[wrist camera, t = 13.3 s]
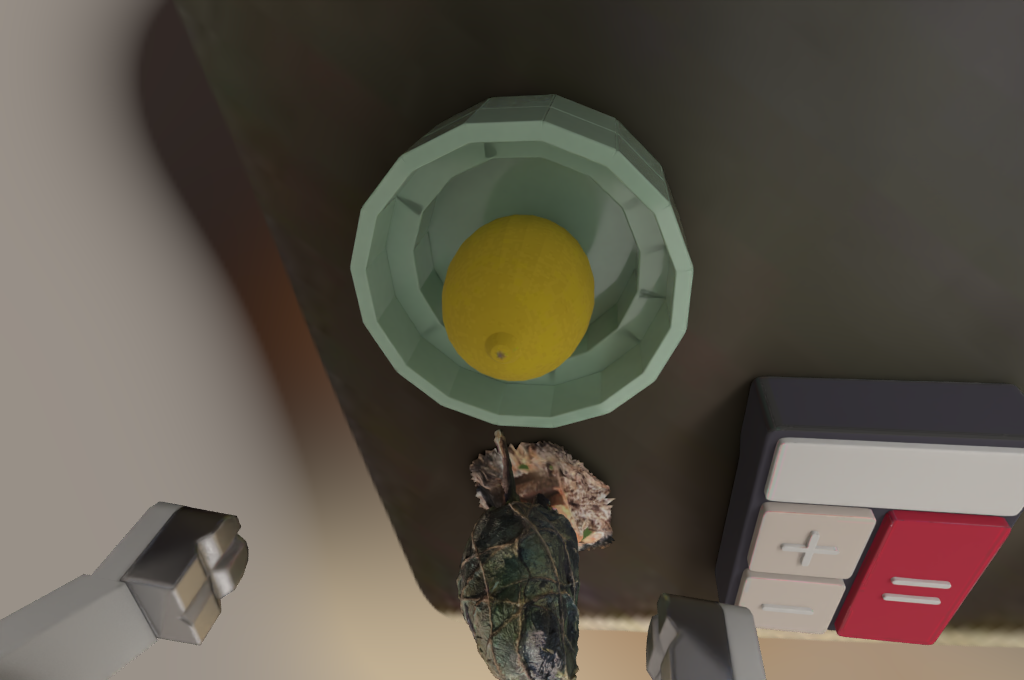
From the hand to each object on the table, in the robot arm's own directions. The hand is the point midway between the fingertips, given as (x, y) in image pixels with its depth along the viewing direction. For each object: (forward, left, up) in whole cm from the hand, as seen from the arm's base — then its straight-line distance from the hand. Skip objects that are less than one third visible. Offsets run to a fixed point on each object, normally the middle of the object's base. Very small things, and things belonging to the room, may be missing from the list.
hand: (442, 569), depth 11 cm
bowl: (0, 0, -16) cm, 16 cm away
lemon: (0, 0, -16) cm, 16 cm away
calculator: (-9, +19, -17) cm, 27 cm away
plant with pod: (+6, +14, -17) cm, 22 cm away
